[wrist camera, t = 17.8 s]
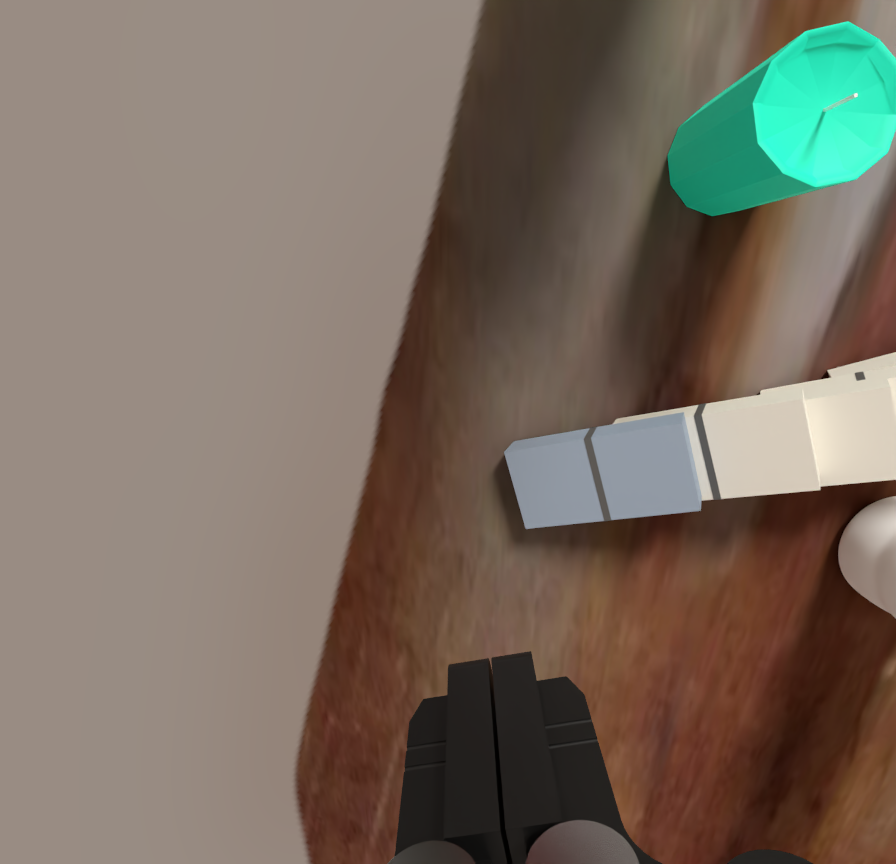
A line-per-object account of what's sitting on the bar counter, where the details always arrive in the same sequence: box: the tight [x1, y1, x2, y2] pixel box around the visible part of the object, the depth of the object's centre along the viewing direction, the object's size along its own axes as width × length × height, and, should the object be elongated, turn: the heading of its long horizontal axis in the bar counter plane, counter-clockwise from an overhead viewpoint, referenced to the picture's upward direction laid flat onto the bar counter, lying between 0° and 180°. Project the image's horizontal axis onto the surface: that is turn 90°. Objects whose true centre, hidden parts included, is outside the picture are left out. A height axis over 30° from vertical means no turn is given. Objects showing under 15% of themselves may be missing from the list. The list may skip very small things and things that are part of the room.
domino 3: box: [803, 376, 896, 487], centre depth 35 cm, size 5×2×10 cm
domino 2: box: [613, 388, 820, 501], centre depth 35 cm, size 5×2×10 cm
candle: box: [667, 21, 896, 216], centre depth 29 cm, size 6×6×12 cm
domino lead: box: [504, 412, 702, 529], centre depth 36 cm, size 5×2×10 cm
